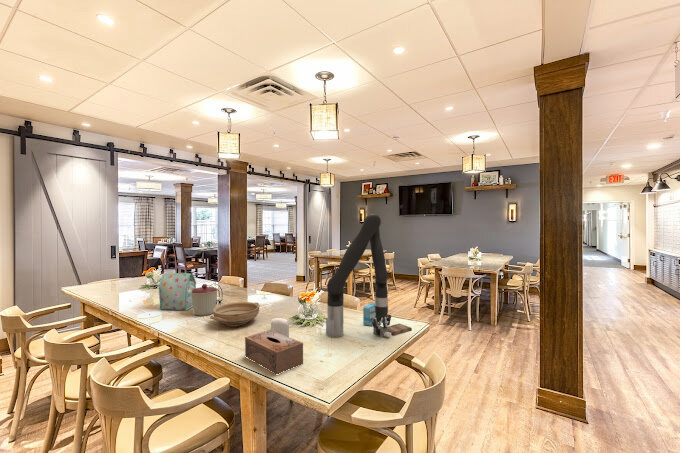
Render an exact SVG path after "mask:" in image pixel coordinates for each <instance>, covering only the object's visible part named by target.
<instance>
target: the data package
mask: <svg viewBox="0 0 680 453" xmlns="http://www.w3.org/2000/svg"><path fill="white" fill-rule="evenodd" d="M362 308H363V311H362V313H363V317H362V321H363V322H362V323H363V325H365V326H369V327H371V326H373V325H372V321H371V318H375V315H376V313H375V302H371V303H368V304H366V305H364V306H363V307H362Z"/></svg>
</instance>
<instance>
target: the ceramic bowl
mask: <svg viewBox="0 0 680 453" xmlns="http://www.w3.org/2000/svg"><path fill="white" fill-rule="evenodd" d="M260 308H261V307H260V303H259V302H250V301H238V302H237V301H235V302H230V303H229V302H228V303H223V304H220V305H218V306H216V307H215V308H214V309H213V313H212V314H213V315H211V316H210V320H213V321H214V320H215V321H218V322H219V323H222V324H225V325H226V326H227V327H238V326H239V327H240V325H241V326H243V325H244V326H245V325H246V324H248V322H249V321H251V320H253V319H256V317H257V316H258V315H259V312H260Z"/></svg>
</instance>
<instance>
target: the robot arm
mask: <svg viewBox="0 0 680 453" xmlns="http://www.w3.org/2000/svg"><path fill="white" fill-rule="evenodd" d="M381 224H382V220H381V217H380V215H378V214H376V213H369V214H368V215H366V216H365V218H364V221H363V223H362V226H361V228H360V230H359V232H358V234H357V235H356V236H355V238H354V239H353V240H352V241H351V243H350V244H349V246H348V247H347V249H346V250H345V252H344V254H343V256H342V258H341V260H340V264H339V266H338V267H337V270H336V271H335V272H334V274H333V276H330V278H329V279H328V281H327V284H326V289H327V304H326V305H327V311H326V312H327V317H326V318H325V335H326V336H328V337H329V338H340V337H343V336H344V293H345V292H344V287H345V285H346V282H347V280H348V278H349V277H350V275H351V274H352V272H353V270H354V269H355V268H356V266H357V265H358V263H359V261H360V260H361V258H362V257H363V254H365V251H366V249H367V247H368V244H369V245H370V251H371V252H370V253H371V259H372V264H373V268H374V278H375V279H374V280H375V282H374V283H375V290H374V293H375V294H374V303H375V313H376V315H375V318H371V321H372V325H371V326H372V328H376V334H377V335H376V336H378V337H380V336H379V335H380V326H382V327H384V328H387V327H388V326H391V325H390V324H391V321H392V320H391V318H392V315H391V314H389V299H388V295H389V293H388V292H389V291H388V278H389V275H388V270H387V266H386V259H385V251H384V248H383V244H382V241H381V240H382V239H381V235H380V226H381Z"/></svg>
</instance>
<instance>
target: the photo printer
mask: <svg viewBox="0 0 680 453" xmlns="http://www.w3.org/2000/svg"><path fill="white" fill-rule="evenodd" d="M270 330H273V331H275V332H278V333H280V334H283V335H285V336H287V337H290V322H289V320H288V319H285V318H282V317H281V318H280V317H276V318H272V319H271V321H270Z"/></svg>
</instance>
